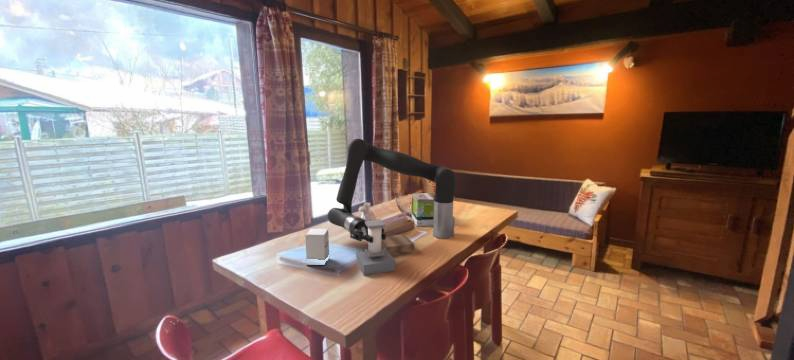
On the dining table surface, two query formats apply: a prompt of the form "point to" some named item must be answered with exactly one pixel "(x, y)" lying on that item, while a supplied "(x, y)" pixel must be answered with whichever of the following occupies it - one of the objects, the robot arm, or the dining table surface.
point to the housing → (375, 238)
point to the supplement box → (317, 244)
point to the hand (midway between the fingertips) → (378, 238)
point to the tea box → (422, 209)
